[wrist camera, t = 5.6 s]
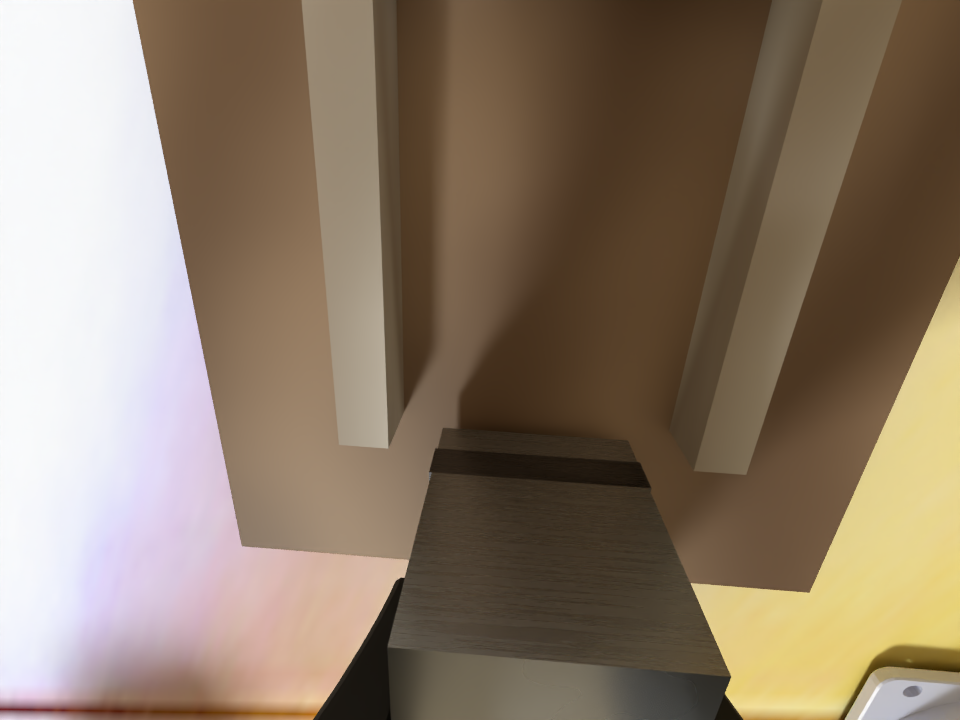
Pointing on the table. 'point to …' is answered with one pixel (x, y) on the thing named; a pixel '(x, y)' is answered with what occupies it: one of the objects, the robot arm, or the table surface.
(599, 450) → the block
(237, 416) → the holder
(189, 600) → the table surface
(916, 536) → the table surface
